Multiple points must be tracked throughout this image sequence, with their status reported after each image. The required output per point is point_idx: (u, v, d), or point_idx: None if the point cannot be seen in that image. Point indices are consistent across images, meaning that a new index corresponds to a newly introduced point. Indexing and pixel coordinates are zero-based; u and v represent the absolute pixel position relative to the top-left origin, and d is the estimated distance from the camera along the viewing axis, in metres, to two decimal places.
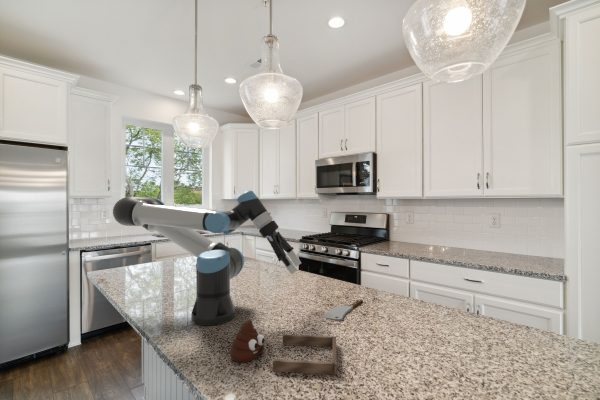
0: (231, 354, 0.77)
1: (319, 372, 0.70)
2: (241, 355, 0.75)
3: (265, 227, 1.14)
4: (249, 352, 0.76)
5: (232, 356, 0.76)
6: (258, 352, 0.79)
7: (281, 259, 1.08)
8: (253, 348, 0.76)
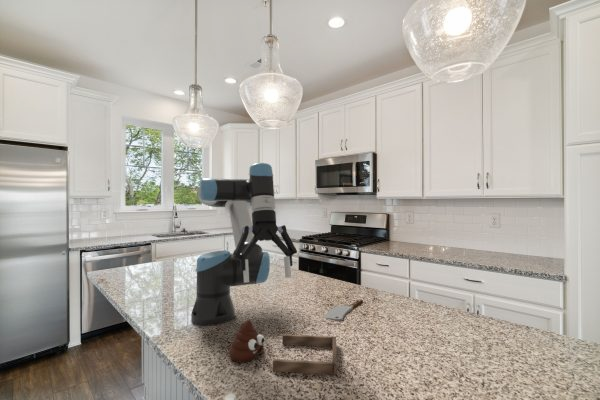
0: (231, 354, 0.77)
1: (319, 372, 0.70)
2: (241, 354, 0.75)
3: (252, 214, 0.91)
4: (248, 352, 0.76)
5: (232, 356, 0.76)
6: (258, 352, 0.79)
7: None
8: (253, 348, 0.76)
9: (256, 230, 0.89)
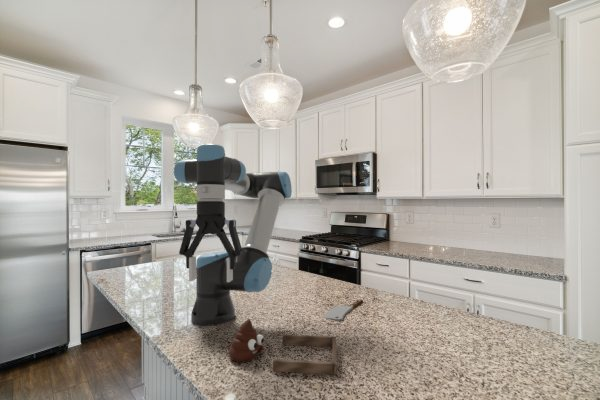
0: (230, 354, 0.77)
1: (319, 372, 0.70)
2: (240, 354, 0.75)
3: None
4: (248, 352, 0.76)
5: (231, 356, 0.76)
6: (257, 352, 0.79)
7: None
8: (252, 348, 0.76)
9: (198, 223, 0.81)
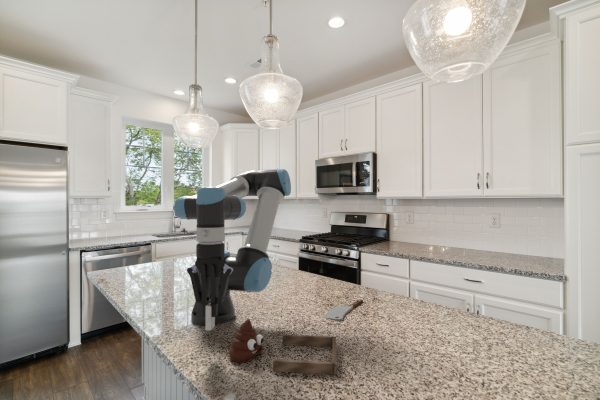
0: (230, 354, 0.77)
1: (319, 372, 0.70)
2: (240, 354, 0.75)
3: None
4: (248, 352, 0.76)
5: (231, 356, 0.76)
6: (257, 352, 0.79)
7: None
8: (252, 348, 0.76)
9: (198, 265, 0.80)
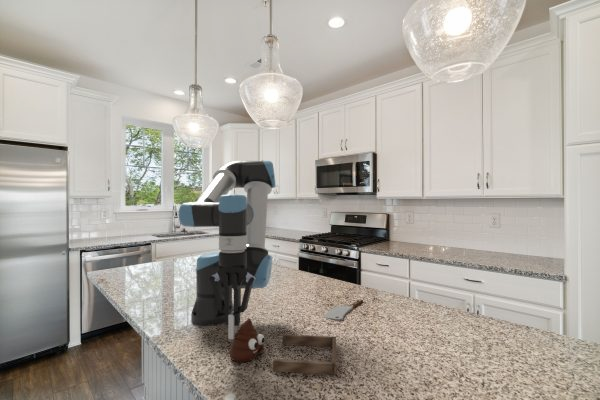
0: (231, 353, 0.77)
1: (319, 372, 0.70)
2: (241, 354, 0.75)
3: None
4: (249, 352, 0.76)
5: (232, 355, 0.76)
6: (258, 351, 0.79)
7: None
8: (253, 347, 0.76)
9: (221, 274, 0.80)
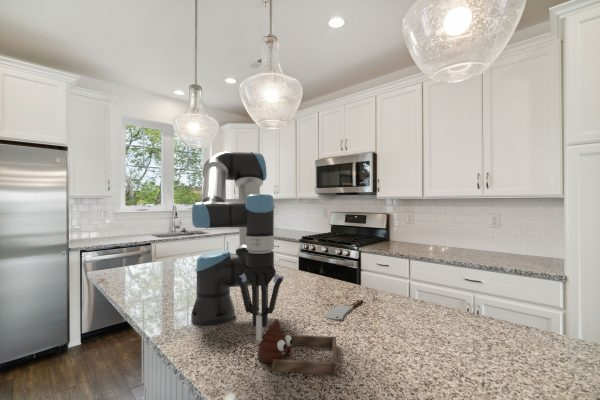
0: (259, 355, 0.76)
1: (319, 372, 0.70)
2: (270, 355, 0.75)
3: None
4: (278, 353, 0.75)
5: (261, 357, 0.75)
6: (286, 353, 0.78)
7: None
8: (282, 349, 0.75)
9: (248, 274, 0.79)
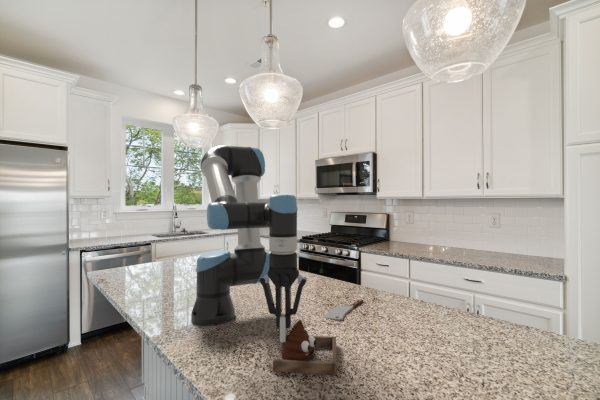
0: (283, 355, 0.75)
1: (319, 372, 0.70)
2: (294, 356, 0.74)
3: None
4: (302, 354, 0.75)
5: (285, 358, 0.75)
6: (310, 354, 0.77)
7: None
8: (306, 350, 0.75)
9: (272, 275, 0.78)
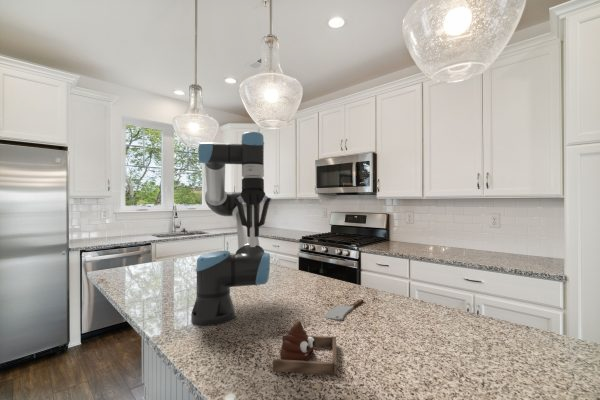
0: (282, 356, 0.76)
1: (319, 372, 0.70)
2: (293, 357, 0.74)
3: None
4: (301, 355, 0.75)
5: (284, 358, 0.75)
6: (309, 354, 0.77)
7: None
8: (305, 350, 0.75)
9: (244, 195, 1.00)
